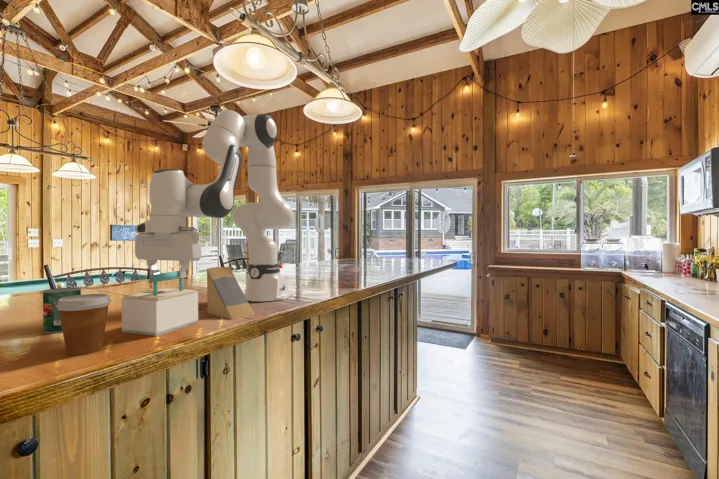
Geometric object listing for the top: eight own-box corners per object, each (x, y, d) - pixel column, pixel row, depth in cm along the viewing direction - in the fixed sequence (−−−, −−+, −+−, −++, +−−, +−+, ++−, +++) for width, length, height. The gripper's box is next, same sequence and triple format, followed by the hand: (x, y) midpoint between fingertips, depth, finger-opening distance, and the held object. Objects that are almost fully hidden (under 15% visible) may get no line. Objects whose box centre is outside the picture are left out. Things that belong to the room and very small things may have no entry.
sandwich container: (231, 320, 103) (231, 271, 102) (206, 313, 112) (206, 268, 112) (256, 315, 109) (255, 269, 109) (230, 308, 119) (230, 266, 119)
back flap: (164, 290, 102) (164, 287, 102) (179, 291, 101) (179, 288, 101) (123, 297, 90) (123, 294, 90) (139, 298, 88) (139, 295, 88)
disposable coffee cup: (48, 361, 69) (47, 302, 69) (66, 346, 78) (66, 295, 78) (104, 354, 73) (104, 299, 73) (116, 341, 82) (115, 292, 82)
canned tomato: (36, 331, 90) (35, 290, 90) (70, 324, 97) (70, 286, 97) (53, 335, 87) (53, 292, 87) (87, 327, 94) (87, 288, 94)
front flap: (158, 300, 86) (157, 275, 86) (141, 299, 88) (141, 274, 88) (196, 292, 99) (196, 270, 99) (181, 291, 100) (181, 269, 100)
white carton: (166, 319, 103) (166, 290, 103) (198, 322, 99) (198, 292, 99) (121, 332, 90) (121, 298, 90) (156, 336, 86) (156, 301, 86)
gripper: (207, 227, 93) (207, 277, 93) (150, 227, 99) (150, 274, 99) (189, 226, 87) (189, 279, 87) (130, 226, 93) (130, 276, 93)
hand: (168, 276), depth 93 cm, fingers open, 8 cm apart
